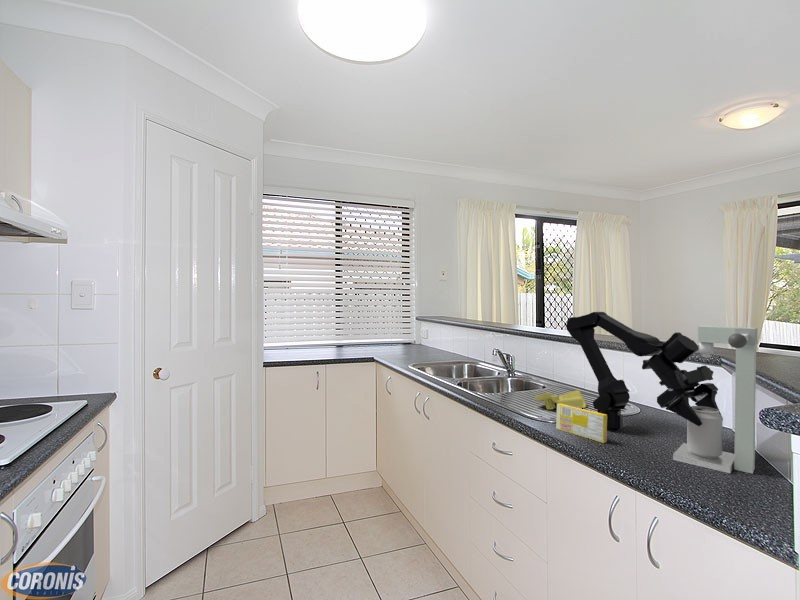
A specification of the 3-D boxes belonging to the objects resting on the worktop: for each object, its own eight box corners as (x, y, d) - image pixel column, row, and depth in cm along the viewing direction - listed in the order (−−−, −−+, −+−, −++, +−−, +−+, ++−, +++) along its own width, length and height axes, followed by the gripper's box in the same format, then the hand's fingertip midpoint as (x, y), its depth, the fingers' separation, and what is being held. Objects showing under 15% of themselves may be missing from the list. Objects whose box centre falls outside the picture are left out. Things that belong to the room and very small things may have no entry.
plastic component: (561, 395, 171) (581, 388, 164) (567, 413, 168) (588, 407, 161) (529, 398, 160) (550, 391, 153) (535, 417, 157) (556, 411, 150)
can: (705, 448, 114) (706, 404, 114) (729, 458, 106) (730, 411, 106) (680, 449, 113) (680, 404, 113) (702, 459, 106) (702, 412, 105)
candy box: (607, 442, 122) (608, 414, 122) (603, 444, 121) (603, 415, 121) (559, 427, 136) (559, 402, 136) (555, 428, 135) (555, 403, 135)
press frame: (682, 479, 98) (684, 329, 97) (700, 455, 113) (701, 325, 112) (745, 495, 90) (747, 332, 89) (755, 467, 104) (757, 328, 104)
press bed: (673, 459, 109) (673, 454, 109) (683, 448, 118) (683, 442, 118) (730, 473, 101) (730, 467, 101) (736, 459, 110) (736, 454, 110)
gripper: (668, 357, 109) (715, 410, 99) (710, 353, 117) (757, 402, 107) (639, 382, 116) (680, 433, 106) (681, 377, 124) (722, 424, 114)
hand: (711, 423), depth 108 cm, fingers open, 9 cm apart
